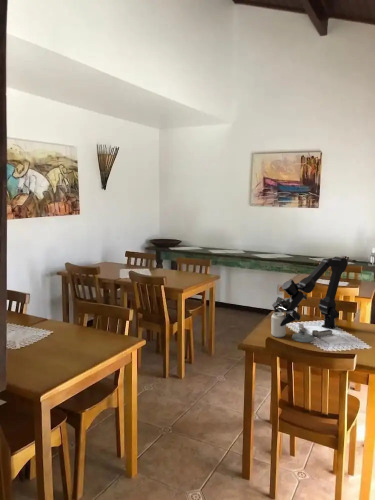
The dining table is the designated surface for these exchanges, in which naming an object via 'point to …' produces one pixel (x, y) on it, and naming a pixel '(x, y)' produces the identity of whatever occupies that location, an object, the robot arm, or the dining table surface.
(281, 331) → the can
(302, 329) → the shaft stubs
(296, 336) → the pad
